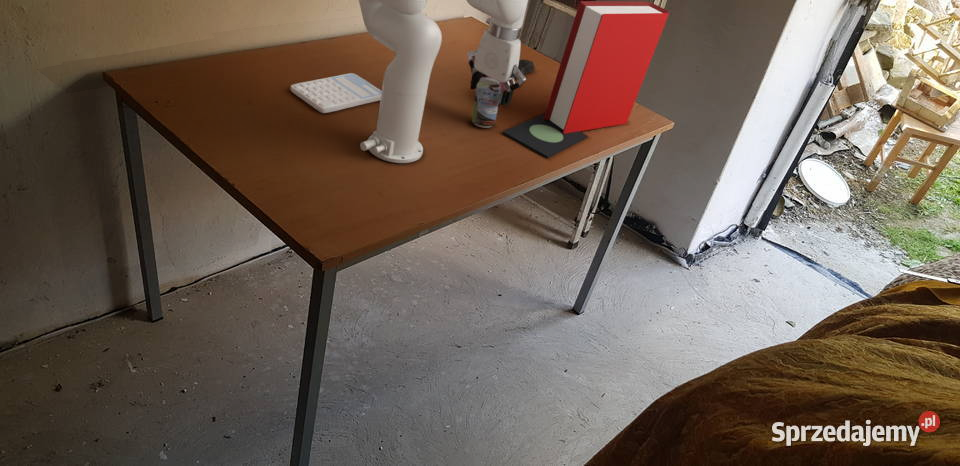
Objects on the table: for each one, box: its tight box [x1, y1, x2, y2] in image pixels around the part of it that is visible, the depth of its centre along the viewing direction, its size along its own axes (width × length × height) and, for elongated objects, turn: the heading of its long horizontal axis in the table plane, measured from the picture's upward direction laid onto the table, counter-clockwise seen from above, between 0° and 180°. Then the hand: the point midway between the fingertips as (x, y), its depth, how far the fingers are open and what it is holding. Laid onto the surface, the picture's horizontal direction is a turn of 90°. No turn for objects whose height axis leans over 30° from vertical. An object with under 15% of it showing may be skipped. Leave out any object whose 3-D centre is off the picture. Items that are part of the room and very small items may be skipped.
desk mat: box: [501, 113, 588, 159], centre depth 181 cm, size 20×14×1 cm
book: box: [543, 0, 670, 134], centre depth 185 cm, size 27×8×32 cm, turn 128°
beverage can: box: [471, 77, 501, 129], centre depth 175 cm, size 6×7×12 cm
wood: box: [482, 59, 535, 79], centre depth 209 cm, size 22×7×3 cm, turn 133°
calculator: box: [289, 72, 382, 114], centre depth 174 cm, size 13×20×2 cm, turn 138°
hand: (489, 96), depth 175 cm, fingers open, 9 cm apart
